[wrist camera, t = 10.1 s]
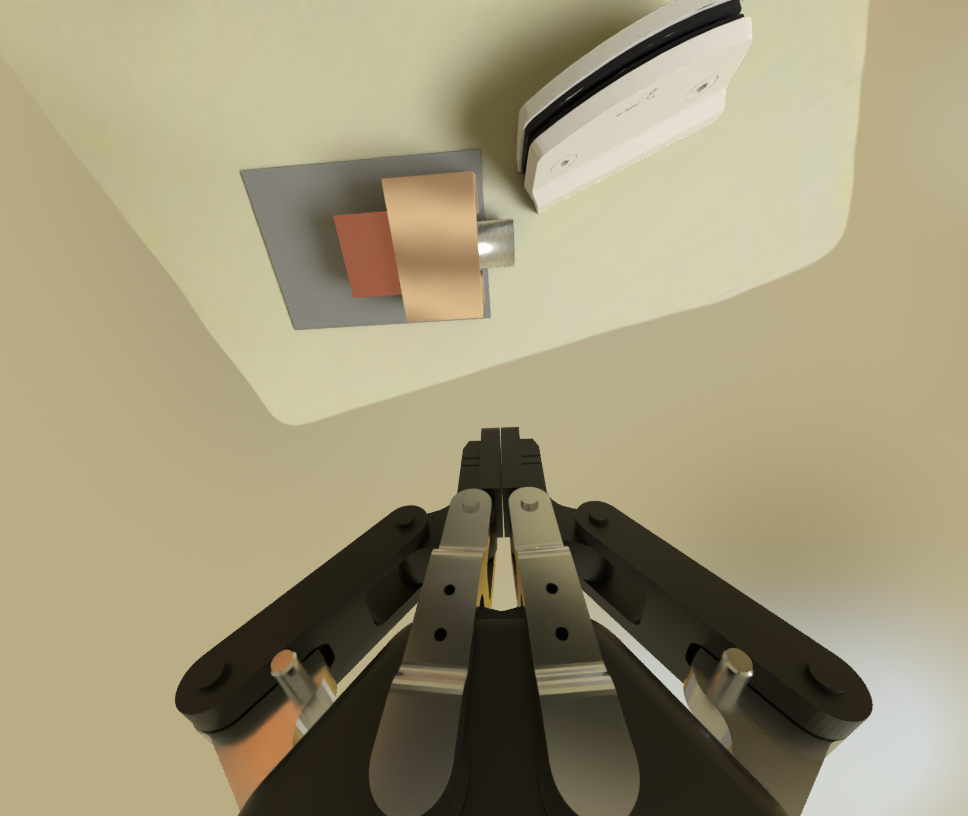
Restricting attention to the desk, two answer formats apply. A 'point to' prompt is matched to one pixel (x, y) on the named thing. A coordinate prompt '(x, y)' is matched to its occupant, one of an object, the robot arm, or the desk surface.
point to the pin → (375, 257)
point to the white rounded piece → (630, 97)
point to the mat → (313, 236)
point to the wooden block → (436, 245)
